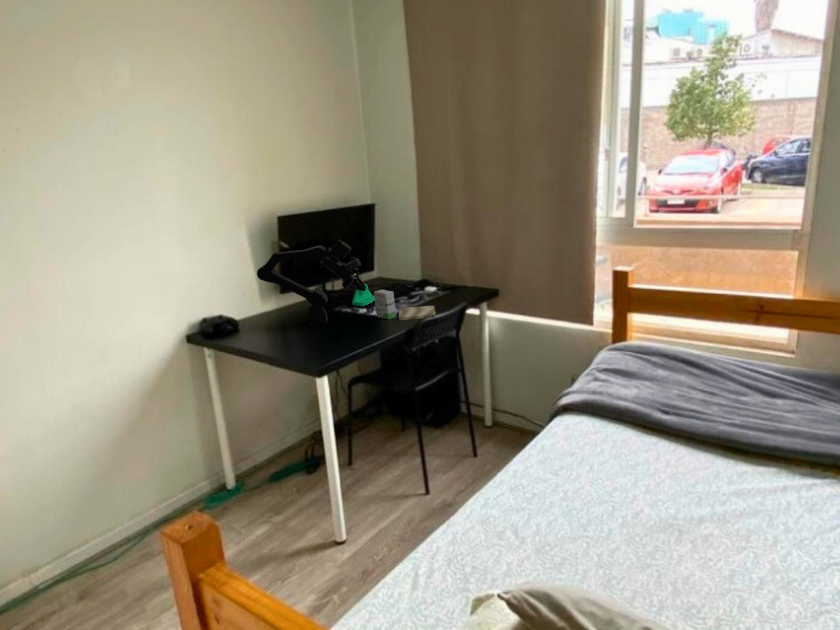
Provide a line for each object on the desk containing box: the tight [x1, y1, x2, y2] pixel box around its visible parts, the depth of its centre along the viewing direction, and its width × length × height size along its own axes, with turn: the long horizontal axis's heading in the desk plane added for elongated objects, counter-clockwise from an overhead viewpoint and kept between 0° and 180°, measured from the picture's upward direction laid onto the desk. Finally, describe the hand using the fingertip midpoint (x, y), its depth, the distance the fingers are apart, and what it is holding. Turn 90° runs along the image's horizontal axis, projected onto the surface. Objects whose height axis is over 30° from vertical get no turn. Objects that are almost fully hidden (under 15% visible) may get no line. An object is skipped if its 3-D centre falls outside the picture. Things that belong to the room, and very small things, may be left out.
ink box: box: [373, 289, 397, 320], centre depth 249 cm, size 9×5×12 cm, turn 42°
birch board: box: [398, 305, 436, 321], centre depth 250 cm, size 16×14×1 cm
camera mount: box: [351, 283, 375, 307], centre depth 273 cm, size 12×8×10 cm, turn 136°
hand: (365, 289), depth 247 cm, fingers open, 4 cm apart
